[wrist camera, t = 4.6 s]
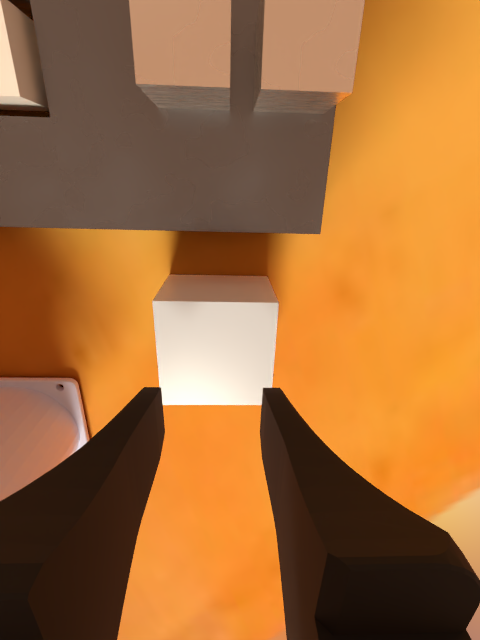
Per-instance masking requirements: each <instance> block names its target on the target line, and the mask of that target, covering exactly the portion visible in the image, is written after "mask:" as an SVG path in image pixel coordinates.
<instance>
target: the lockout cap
mask: <svg viewBox="0 0 480 640" xmlns="http://www.w3.org/2000/svg"><path fill="white" fill-rule="evenodd" d="M152 302H153V314H154V325H155V337H156V349H157V361H158V373H159V385H160V387H161V392H162V404H163V405H262V394H263V388H272V382H273V370H274V357H275V344H276V332H277V319H278V306H279V302H278V300H277V297H276V295H275V293H274V290H273V288H272V286H271V283H270V281H269V278H268V276H234V275H177V274H170V275H169V276H168V278H167V279H166V281H165V282H164V284H163V285H162V287H161V289H160V290H159V292H158V293H157V295H156V296H155V298H154V299H153V301H152Z"/></svg>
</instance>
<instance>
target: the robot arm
mask: <svg viewBox="0 0 480 640" xmlns="http://www.w3.org/2000/svg"><path fill="white" fill-rule="evenodd" d="M59 384H61V385H63V386H64V387H61V386H59ZM164 434H165V428H164V416H163V404H162V392H161V387H144V388H143V389H142V390H141V391H140V392H139V393H138V394H137V395H136V396H135V397H134V398H133V399H132V400H131V401H130V402H129V403H128V404H127V405H126V406H125V407H124V408H123V409H122V410H121V411H120V412H119V413H118V414H117V415H116V416H115V417H114V418H113V419H112V420H111V421H110V422H109V423H108V424H107V425H106V426H105V427H104V428H103V429H102V430H100V431H99V432H98V433H97V434H96V435H95V436H94V437H93V438H91V439H89V434H88V429H87V424H86V419H85V415H84V410H83V405H82V400H81V395H80V390H79V385H78V382H77V381H76V380H75V379H73V378H0V640H117V637H118V631H119V626H120V620H121V615H122V609H123V604H124V599H125V594H126V589H127V583H128V578H129V573H130V568H131V563H132V559H133V554H134V549H135V544H136V539H137V535H138V531H139V527H140V523H141V520H142V517H143V513H144V510H145V507H146V503H147V500H148V497H149V494H150V490H151V487H152V484H153V481H154V477H155V474H156V471H157V467H158V464H159V461H160V456H161V451H162V446H163V440H164ZM260 438H261V450H262V460H263V465H264V470H265V475H266V480H267V485H268V490H269V495H270V500H271V505H272V511H273V516H274V521H275V527H276V534H277V543H278V553H279V562H280V572H281V582H282V592H283V602H284V613H285V624H286V635H287V640H471V638H470V636H469V634H468V632H467V631H466V628H467V626H468V624H469V622H470V620H471V619H472V617H473V615H474V613H475V611H476V610H477V608H478V606H479V603H480V580H479V578H478V577H477V575H476V574H475V572H474V571H473V569H472V567H471V566H470V564H469V562H468V561H467V559H466V558H465V556H464V554H463V553H462V551H461V550H460V549H459V547H458V546H457V545H456V543H455V542H454V541H453V539H452V538H451V536H450V535H449V534H448V532H446V531H444V530H442V529H441V528H439V527H437V526H436V525H434V524H432V523H431V522H429V521H427V520H425V519H424V518H422V517H420V516H419V515H417V514H415V513H413V512H412V511H410V510H409V509H407V508H405V507H404V506H402V505H401V504H399V503H398V502H396V501H395V500H393V499H392V498H390V497H389V496H387V495H386V494H384V493H383V492H382V491H380V490H379V489H377V488H376V487H375V486H373V485H372V484H371V483H369V482H368V481H367V480H365V479H364V478H363V477H362V476H360V475H359V474H358V473H356V472H355V471H354V470H353V469H352V468H350V467H349V466H348V465H347V464H346V463H345V462H343V461H342V460H341V459H340V458H339V457H338V456H337V455H336V454H335V453H334V452H333V451H332V450H331V449H330V448H329V447H328V446H327V445H326V444H325V443H324V442H323V441H322V440H321V439H320V438H319V437H318V436H317V435H316V434H315V433H314V431H313V430H312V429H311V428H310V427H309V426H308V424H307V423H306V422H305V421H304V420H303V418H302V417H301V416H300V415H299V413H298V412H297V411H296V409H295V408H294V407H293V405H292V404H291V403H290V401H289V400H288V398H287V397H286V396H285V394H284V393H283V391H282V390H281V389H280V388H263V394H262V409H261V424H260Z"/></svg>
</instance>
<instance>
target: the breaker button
mask: <svg viewBox="0 0 480 640" xmlns="http://www.w3.org/2000/svg"><path fill="white" fill-rule="evenodd" d="M0 110H21V111H47V112H49V107H48V101H47V95H46V89H45V84H44V78H43V72H42V67H41V61H40V55H39V49H38V44H37V38H36V32H35V26H34V21H32V20H31V19H30V18H29V17H28V16H26V15H25V14H24V13H23V12H22V11H20V10H19V9H18V8H17V7H16V6H14V5H13V4H12V3H11V2H10V1H8V0H0Z"/></svg>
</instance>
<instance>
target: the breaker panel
mask: <svg viewBox="0 0 480 640" xmlns="http://www.w3.org/2000/svg"><path fill="white" fill-rule="evenodd" d="M8 1H10V2H11V3H12V4H13V5H14V6H16V7H17V8H18V9H19V10H20V11H22V12H23V13H24V14H25V15H26V16H33V21H34V26H35V32H36V38H37V44H38V49H39V55H40V61H41V67H42V72H43V78H44V84H45V89H46V95H47V101H48V107H49V112H50V117H24V116H0V227H36V228H80V229H123V230H166V231H210V232H253V233H296V234H320V232H321V223H322V215H323V207H324V199H325V191H326V182H327V174H328V166H329V158H330V149H331V141H332V133H333V125H334V117H335V108H336V104H338V103H339V102H340V101H342V100H343V99H344V98H346V97H347V96H349V95H350V94H351V93H352V91H353V84H354V77H355V69H356V62H357V55H358V47H359V40H360V33H361V25H362V18H363V11H364V3H365V0H8Z"/></svg>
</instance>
